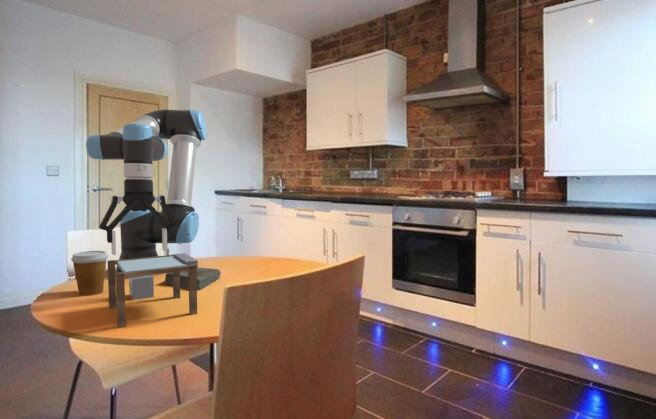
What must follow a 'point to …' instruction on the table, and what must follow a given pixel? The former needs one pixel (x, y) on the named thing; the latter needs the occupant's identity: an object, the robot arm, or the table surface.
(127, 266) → the trapdoor
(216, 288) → the table surface
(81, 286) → the disposable coffee cup
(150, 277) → the granite block
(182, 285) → the marble piece
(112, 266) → the walnut frame
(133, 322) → the table surface
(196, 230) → the robot arm
